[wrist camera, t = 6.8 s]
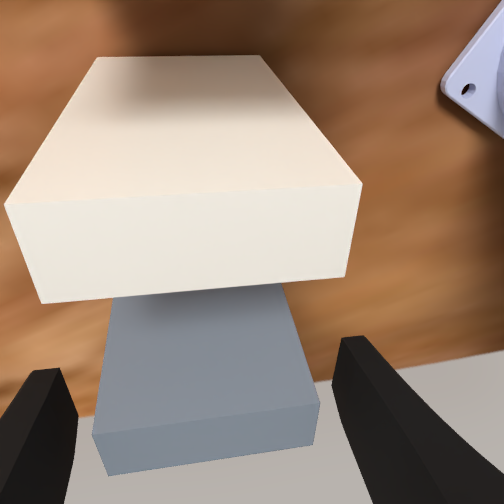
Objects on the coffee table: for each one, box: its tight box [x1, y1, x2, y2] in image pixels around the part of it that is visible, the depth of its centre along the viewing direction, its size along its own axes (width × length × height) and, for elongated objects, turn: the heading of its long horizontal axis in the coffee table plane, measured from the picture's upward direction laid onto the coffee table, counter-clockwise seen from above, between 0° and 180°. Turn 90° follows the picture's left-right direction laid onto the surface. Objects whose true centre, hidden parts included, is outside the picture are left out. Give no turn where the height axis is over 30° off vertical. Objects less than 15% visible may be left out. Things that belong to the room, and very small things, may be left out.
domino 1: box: [4, 55, 362, 304], centre depth 10 cm, size 2×5×9 cm, turn 89°
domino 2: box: [92, 283, 320, 476], centre depth 13 cm, size 2×5×9 cm, turn 90°
